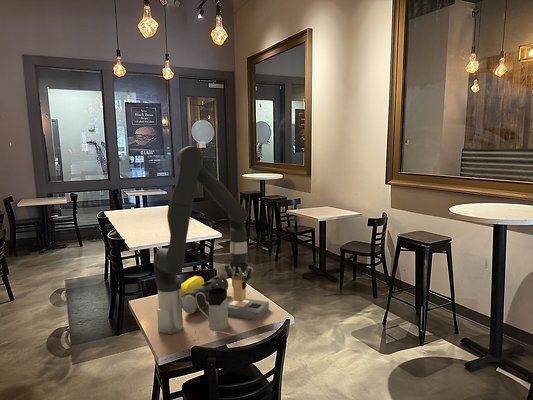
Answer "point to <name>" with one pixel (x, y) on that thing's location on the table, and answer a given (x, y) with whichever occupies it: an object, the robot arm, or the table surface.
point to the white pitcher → (217, 308)
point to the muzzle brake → (189, 298)
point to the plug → (238, 289)
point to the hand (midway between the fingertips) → (239, 288)
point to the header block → (248, 309)
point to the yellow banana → (191, 284)
